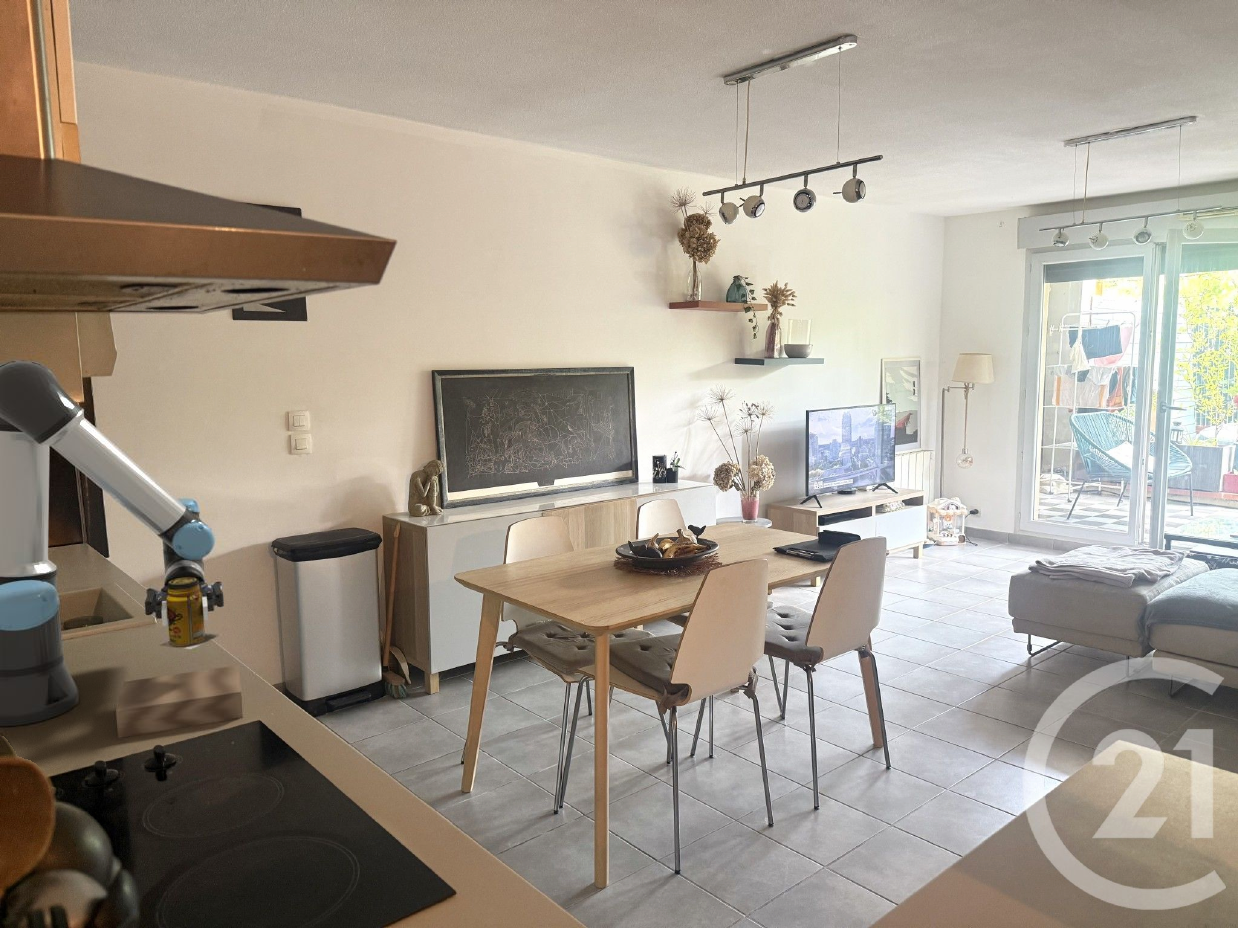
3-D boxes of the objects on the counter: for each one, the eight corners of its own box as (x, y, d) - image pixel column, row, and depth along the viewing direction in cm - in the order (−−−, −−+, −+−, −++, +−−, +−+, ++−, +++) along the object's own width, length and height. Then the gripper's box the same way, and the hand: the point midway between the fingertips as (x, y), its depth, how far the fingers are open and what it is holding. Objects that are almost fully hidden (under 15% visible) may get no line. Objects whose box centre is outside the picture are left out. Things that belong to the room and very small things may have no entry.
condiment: (158, 646, 162) (154, 583, 160) (192, 631, 170) (188, 571, 168) (190, 650, 160) (186, 587, 158) (223, 635, 168) (220, 575, 166)
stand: (118, 737, 152) (115, 710, 151) (125, 706, 164) (123, 681, 164) (242, 717, 160) (241, 691, 159) (240, 689, 173) (239, 665, 172)
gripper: (236, 594, 184) (242, 628, 164) (133, 606, 176) (127, 643, 155) (234, 560, 183) (240, 589, 163) (130, 570, 175) (123, 602, 154)
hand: (185, 615), depth 159 cm, fingers closed on condiment, 6 cm apart
